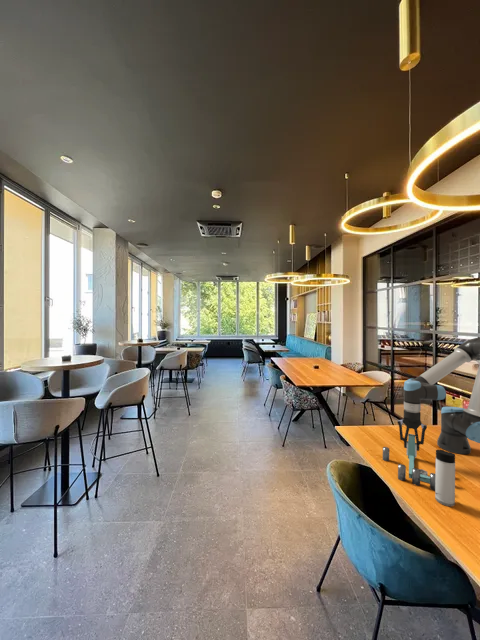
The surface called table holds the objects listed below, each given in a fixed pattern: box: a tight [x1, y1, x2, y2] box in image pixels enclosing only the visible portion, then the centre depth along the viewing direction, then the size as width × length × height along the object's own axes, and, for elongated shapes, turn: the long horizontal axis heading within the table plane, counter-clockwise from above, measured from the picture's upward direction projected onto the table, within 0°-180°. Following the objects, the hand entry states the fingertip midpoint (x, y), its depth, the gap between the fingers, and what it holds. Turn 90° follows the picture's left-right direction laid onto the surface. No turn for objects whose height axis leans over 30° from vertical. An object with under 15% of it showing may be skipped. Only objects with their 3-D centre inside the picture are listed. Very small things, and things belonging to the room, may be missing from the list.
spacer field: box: [382, 446, 436, 492], centre depth 130 cm, size 26×20×6 cm
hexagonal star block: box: [418, 468, 429, 476], centre depth 129 cm, size 4×5×2 cm
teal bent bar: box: [407, 433, 430, 484], centre depth 135 cm, size 24×10×12 cm, turn 148°
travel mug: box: [434, 449, 456, 507], centre depth 110 cm, size 6×7×20 cm
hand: (411, 455), depth 145 cm, fingers closed on teal bent bar, 3 cm apart
